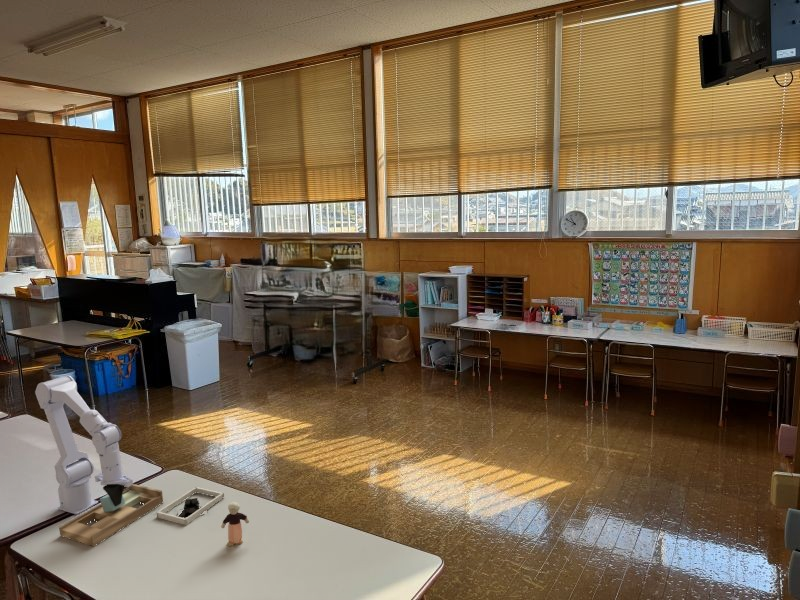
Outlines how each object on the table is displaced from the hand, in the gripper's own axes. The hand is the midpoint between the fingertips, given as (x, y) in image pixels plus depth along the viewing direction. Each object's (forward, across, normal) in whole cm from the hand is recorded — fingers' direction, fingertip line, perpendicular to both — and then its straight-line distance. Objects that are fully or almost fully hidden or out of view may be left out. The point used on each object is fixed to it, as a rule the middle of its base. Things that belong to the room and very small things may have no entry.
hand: (117, 504), depth 174 cm
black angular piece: (+6, +19, +11) cm, 23 cm away
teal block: (+2, -2, 0) cm, 2 cm away
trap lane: (+5, -1, -1) cm, 5 cm away
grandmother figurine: (+7, +44, +3) cm, 45 cm away
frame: (+6, +17, +13) cm, 22 cm away
